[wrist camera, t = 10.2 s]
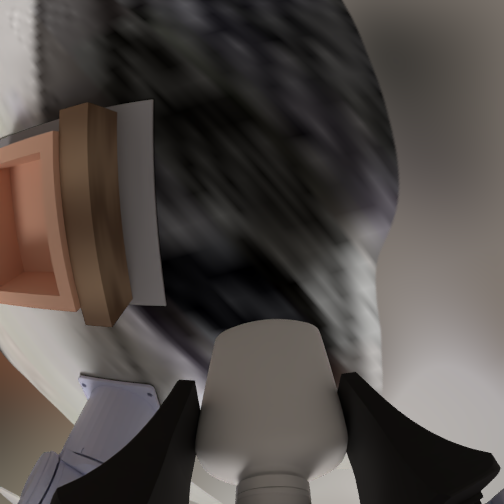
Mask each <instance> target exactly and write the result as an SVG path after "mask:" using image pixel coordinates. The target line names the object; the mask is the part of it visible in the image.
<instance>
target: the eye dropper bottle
mask: <svg viewBox="0 0 504 504" xmlns="http://www.w3.org/2000/svg"><path fill="white" fill-rule="evenodd" d="M347 444H348V433H347V427H346V423H345V419H344V415H343V411H342V407H341V403H340V400H339V396H338V393H337V389H336V385H335V381H334V378H333V374H332V371H331V368H330V364H329V361H328V357H327V354H326V351H325V347H324V344H323V341H322V338H321V335H320V332H319V330H318V328H316V327H315V326H313V325H312V324H309V323H305V322H301V321H295V320H286V319H268V320H259V321H253V322H249V323H245V324H242V325H238V326H236V327H233V328H230V329H228V330H226V331H224V332H222V333H221V334H220V335H219V336H218V337H217V338H216V340H215V344H214V348H213V353H212V357H211V362H210V367H209V371H208V376H207V381H206V386H205V391H204V395H203V400H202V405H201V410H200V415H199V421H198V427H197V433H196V439H195V452H196V455H197V457H198V459H199V462H200V464H201V465H202V467H203V468H204V469H205V471H206V472H207V473H208V474H210V475H211V476H213V477H214V478H217V479H219V480H221V481H224V482H226V483H229V484H233V485H236V486H237V487H236V501H235V504H311V496H310V487H309V482H310V481H312V480H315V479H317V478H319V477H321V476H324V475H326V474H327V473H329V472H331V471H332V470H334V469H335V468H336V467H337V466H338V465H339V464H340V463H341V462H342V461H343V459H344V456H345V454H346V450H347Z"/></svg>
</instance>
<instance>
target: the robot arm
mask: <svg viewBox="0 0 504 504" xmlns="http://www.w3.org/2000/svg"><path fill="white" fill-rule="evenodd" d="M78 380H79V383H80V385H81V387H82V389H83V391H84V394H85V396H86V398H87V400H88V401H87V403H86V404H85V406H84V408H83V410H82V412H81V414H80V416H79V418H78V420H77V421H76V423H75V425H74V428H73V429H72V431H71V433H70V435H69V437H68V439H67V441H66V443H65V445H64V447H63V449H62V451H61V453H60V454H59V455H58V454H57V453H55V452H54V451H50V452H44V453H43V454H42V455H41V457H40V458H39V460H38V461H37V463H36V464H35V466H34V468H33V469H32V471H31V474H30V475H29V477H28V479H27V481H26V483H25V486H24V488H23V491H22V494H21V497H20V500H19V502H18V504H189V493H190V483H191V477H192V472H193V467H194V462H195V457H196V452H195V439H196V433H197V427H198V421H199V415H200V406H199V401H198V396H197V390H196V385H195V381H192V380H179V381H177V383H176V384H175V386H174V388H173V389H172V391H171V392H170V394H169V395H168V397H167V398H166V399H165V401H164V402H163V404H162V405H161V406H160V405H159V401H158V398H157V395H156V392H155V389H154V387H153V386H151V385H147V384H138V383H129V382H121V381H114V380H107V379H100V378H94V377H88V376H83V375H81V376H79V378H78ZM150 393H151V394H150ZM337 393H338V396H339V400H340V403H341V407H342V411H343V415H344V419H345V423H346V427H347V433H348V444H347V450H346V452H347V455H348V458H349V460H350V463H351V466H352V469H353V472H354V475H355V479H356V483H357V488H358V493H359V499H360V504H481V501H480V499H481V498H483V495H482V493H481V490H482V489H483V488H484V487H485V486H487V485H488V484H489V483H490V482H491V481H492V480H493V479H494V478H495V477H496V476H497V474H498V473H499V471H500V466H499V465H498V463H497V461H496V460H495V458H494V457H493V455H492V454H491V453H488V452H483V451H479V450H475V449H471V448H468V447H464V446H462V445H459V444H456V443H453V442H451V441H448V440H446V439H444V438H442V437H440V436H438V435H436V434H434V433H431V432H430V431H428V430H426V429H425V428H423V427H421V426H420V425H418V424H417V423H415V422H413V421H412V420H410V419H409V418H408V417H406V416H405V415H404V414H402V413H401V412H400V411H398V410H397V409H396V408H395V407H393V406H392V405H391V404H390V403H389V402H387V401H386V400H385V399H384V398H383V397H382V396H381V395H380V394H378V393H377V392H376V391H375V390H374V389H373V388H372V387H371V386H370V385H369V384H368V383H367V382H366V381H365V380H364V379H363V378H362V377H360V376H359V375H358V374H357V373H356V372H353V373H345V374H341V379H340V383H339V387H338V392H337ZM486 504H504V489H503V490H501V491H500V492H499V493H498V494H497V495H495V496H494V497H493V498H492V499H491V500H490V501H489V502H487V503H486Z"/></svg>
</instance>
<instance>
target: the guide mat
mask: <svg viewBox="0 0 504 504" xmlns="http://www.w3.org/2000/svg"><path fill="white" fill-rule="evenodd" d="M153 104H154V100H153V99H151V100H144V101H138V102H132V103H126V104H121V105H115V106H110V107H106V108H107V109H110V110H112V111H115V112H117V161H118V183H119V197H120V210H121V220H122V230H123V238H124V246H125V254H126V261H127V268H128V274H129V280H130V286H131V292H132V297H133V299H132V301H131V302H130V303H129V305H152V306H166V305H167V303H166V297H165V289H164V282H163V274H162V265H161V256H160V247H159V236H158V225H157V212H156V197H155V178H154V148H153ZM50 131H59V119H57V120H54V121H51V122H47V123H44V124H41V125H38V126H35V127H32V128H29V129H26V130H23V131H21V132H18V133H15V134H13V135H10V136H7V137H5V138H2V139H0V148H2V147H4V146H7V145H10V144H13V143H16V142H18V141H21V140H24V139H27V138H30V137H34V136H37V135H40V134H43V133H47V132H50Z"/></svg>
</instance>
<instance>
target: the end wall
mask: <svg viewBox="0 0 504 504" xmlns="http://www.w3.org/2000/svg"><path fill="white" fill-rule="evenodd" d="M59 167H60V185H61V197H62V207H63V216H64V224H65V231H66V238H67V245H68V250H69V256H70V261H71V267H72V272H73V276H74V281H75V285H76V290H77V294H78V298H79V302H80V306H81V310H82V313H83V317H84V321H85V324H86V325H91V326H102V327H113V325H114V324H115V323H116V321H117V320H118V318H119V317H120V316H121V314H122V313H123V311H124V310H125V309H126V307H127V306H128V305H129V303H130V302H131V301H132V299H133V297H132V292H131V286H130V280H129V274H128V268H127V261H126V254H125V246H124V238H123V230H122V220H121V210H120V197H119V183H118V161H117V112H115V111H112V110H110V109H107V108H104V107H101V106H98V105H95V104H92V103H89V102H87V103H84V104H80V105H76V106H72V107H69V108H65V109H62V110H60V114H59Z"/></svg>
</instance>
